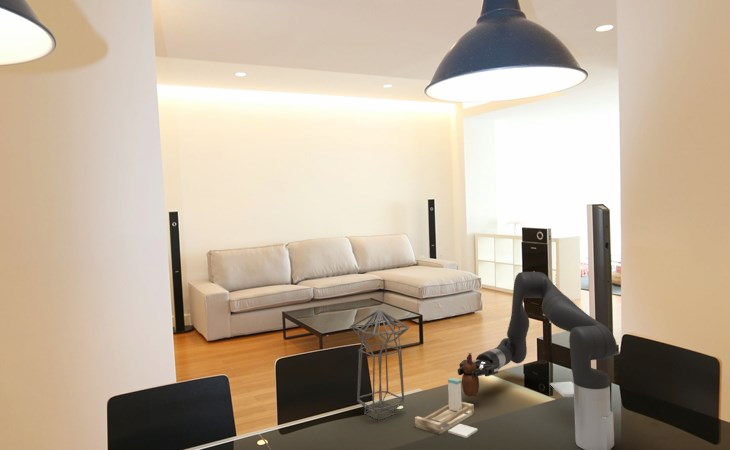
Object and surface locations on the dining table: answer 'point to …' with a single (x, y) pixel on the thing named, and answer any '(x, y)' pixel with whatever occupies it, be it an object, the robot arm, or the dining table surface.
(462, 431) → the pad
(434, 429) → the light wooden tray
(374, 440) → the dining table surface
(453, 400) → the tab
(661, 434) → the dining table surface
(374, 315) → the geometric lantern
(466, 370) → the wooden figurine
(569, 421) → the dining table surface
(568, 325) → the robot arm
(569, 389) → the hard drive
